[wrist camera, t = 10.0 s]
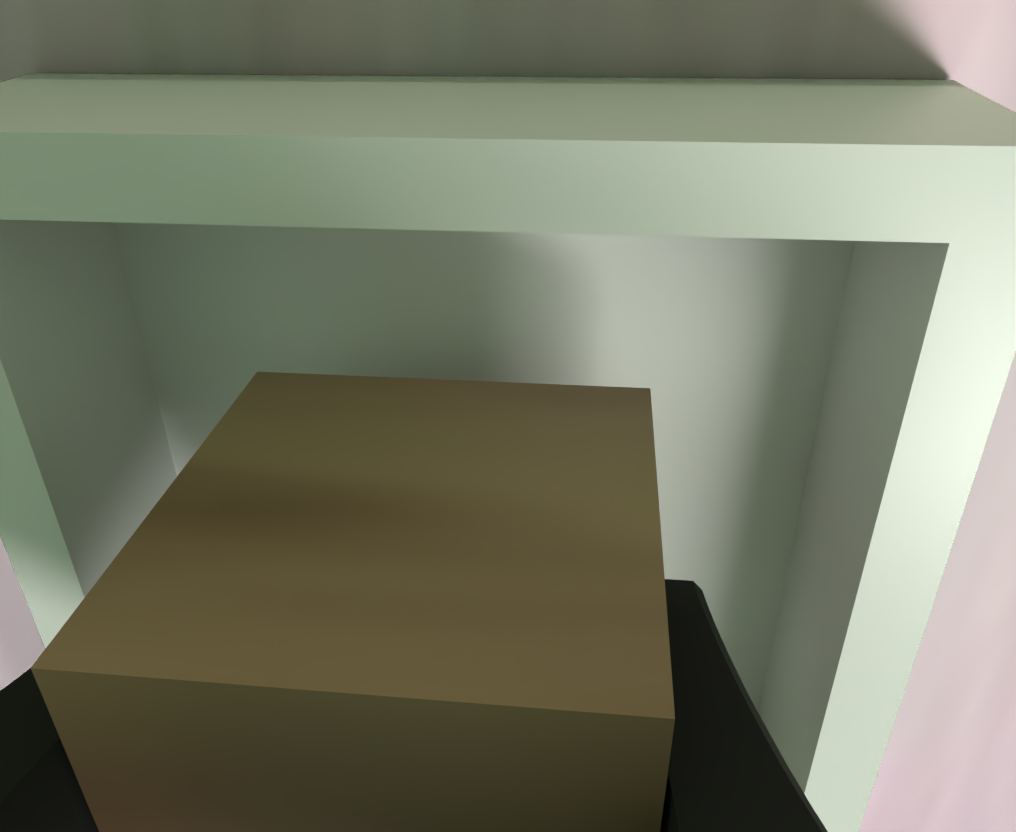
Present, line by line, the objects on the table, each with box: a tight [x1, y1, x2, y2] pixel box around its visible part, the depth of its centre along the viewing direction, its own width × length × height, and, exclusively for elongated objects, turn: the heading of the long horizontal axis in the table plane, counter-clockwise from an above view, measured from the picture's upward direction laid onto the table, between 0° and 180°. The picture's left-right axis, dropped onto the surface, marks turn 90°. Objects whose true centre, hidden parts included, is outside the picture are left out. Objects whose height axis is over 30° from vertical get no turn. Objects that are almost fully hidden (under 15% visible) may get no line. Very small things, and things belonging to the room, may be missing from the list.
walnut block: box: [31, 372, 675, 832], centre depth 9 cm, size 4×4×4 cm
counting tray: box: [0, 73, 1016, 832], centre depth 11 cm, size 11×11×3 cm
